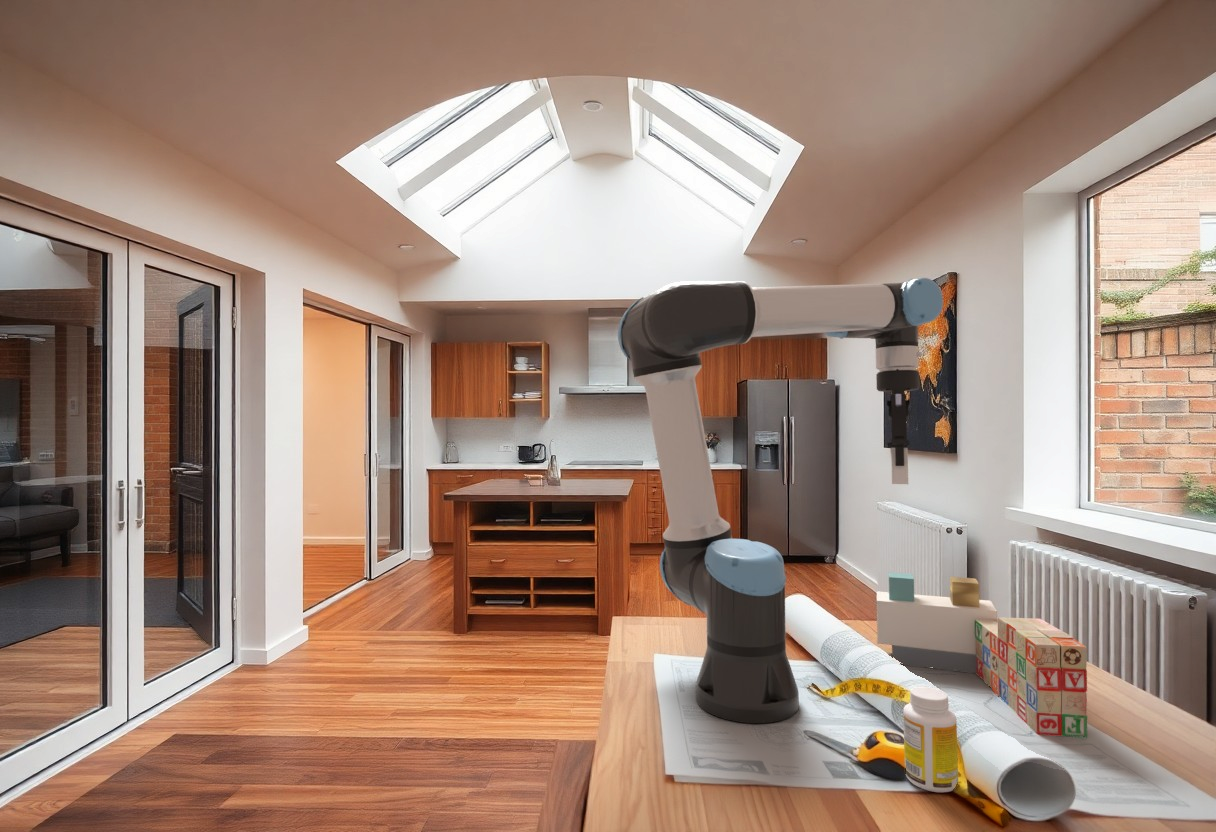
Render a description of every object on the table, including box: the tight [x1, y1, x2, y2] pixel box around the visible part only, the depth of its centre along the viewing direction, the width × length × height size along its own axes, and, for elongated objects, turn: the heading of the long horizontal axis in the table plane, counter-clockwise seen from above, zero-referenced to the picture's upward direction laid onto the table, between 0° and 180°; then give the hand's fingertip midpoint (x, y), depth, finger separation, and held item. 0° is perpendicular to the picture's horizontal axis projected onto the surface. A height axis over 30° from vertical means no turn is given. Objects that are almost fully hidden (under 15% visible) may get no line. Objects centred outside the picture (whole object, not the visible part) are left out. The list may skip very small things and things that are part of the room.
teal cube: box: [888, 572, 915, 602], centre depth 115 cm, size 4×4×4 cm
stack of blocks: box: [975, 616, 1088, 738], centre depth 96 cm, size 21×6×12 cm, turn 170°
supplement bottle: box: [902, 686, 959, 793], centre depth 75 cm, size 6×6×10 cm
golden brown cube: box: [949, 576, 980, 607], centre depth 111 cm, size 4×4×4 cm
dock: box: [891, 645, 977, 674], centre depth 113 cm, size 14×8×3 cm, turn 67°
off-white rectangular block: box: [876, 591, 998, 654], centre depth 113 cm, size 18×7×8 cm, turn 67°
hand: (899, 481), depth 123 cm, fingers open, 13 cm apart
